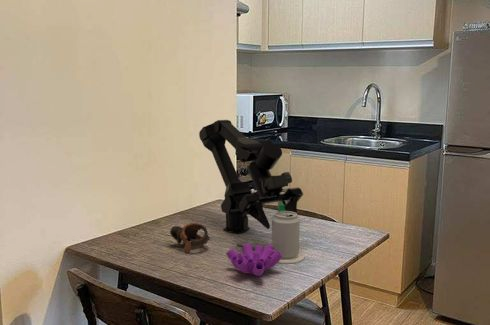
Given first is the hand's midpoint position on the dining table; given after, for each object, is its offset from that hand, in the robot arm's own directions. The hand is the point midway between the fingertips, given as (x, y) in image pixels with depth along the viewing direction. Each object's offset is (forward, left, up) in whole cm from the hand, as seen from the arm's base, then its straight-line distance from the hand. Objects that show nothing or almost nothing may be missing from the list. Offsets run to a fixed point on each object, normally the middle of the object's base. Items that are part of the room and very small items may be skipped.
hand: (282, 225), depth 136 cm
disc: (+1, -1, -8) cm, 9 cm away
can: (+1, -1, -8) cm, 8 cm away
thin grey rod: (-9, -1, -8) cm, 13 cm away
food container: (-17, +30, -9) cm, 36 cm away
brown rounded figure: (-26, -10, -9) cm, 29 cm away
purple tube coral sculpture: (0, -14, -9) cm, 17 cm away
